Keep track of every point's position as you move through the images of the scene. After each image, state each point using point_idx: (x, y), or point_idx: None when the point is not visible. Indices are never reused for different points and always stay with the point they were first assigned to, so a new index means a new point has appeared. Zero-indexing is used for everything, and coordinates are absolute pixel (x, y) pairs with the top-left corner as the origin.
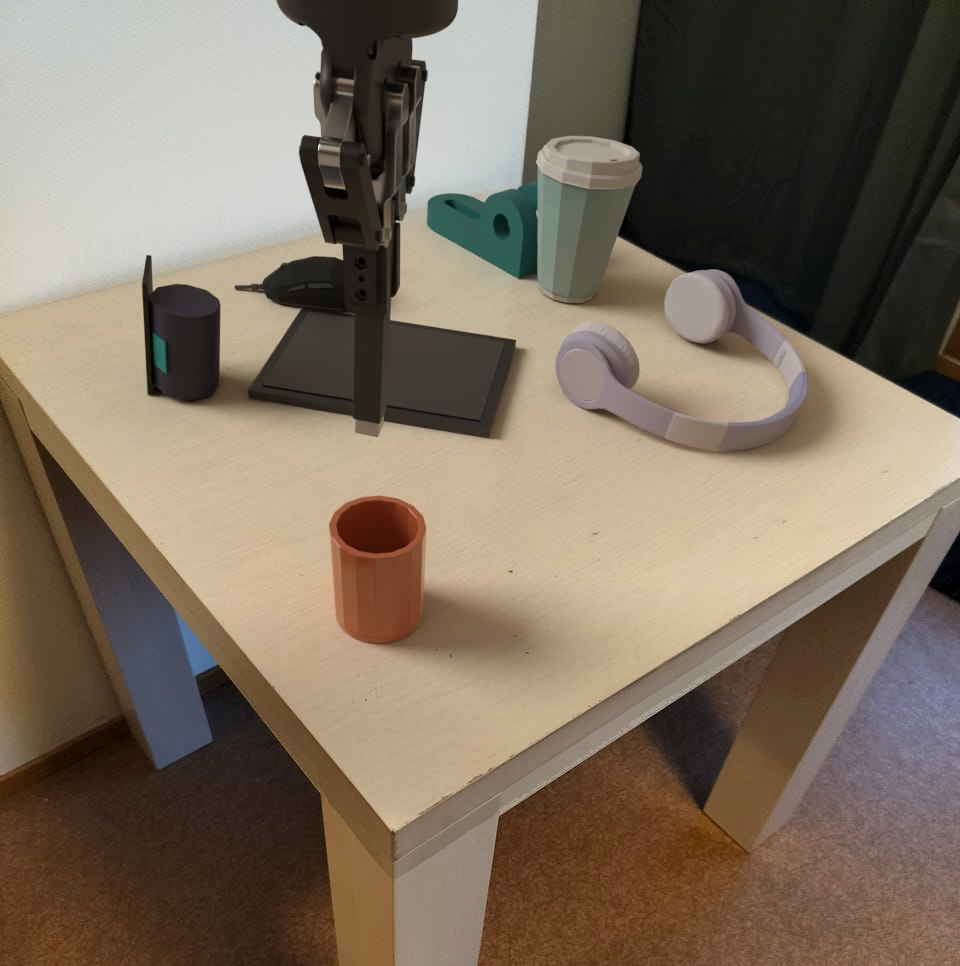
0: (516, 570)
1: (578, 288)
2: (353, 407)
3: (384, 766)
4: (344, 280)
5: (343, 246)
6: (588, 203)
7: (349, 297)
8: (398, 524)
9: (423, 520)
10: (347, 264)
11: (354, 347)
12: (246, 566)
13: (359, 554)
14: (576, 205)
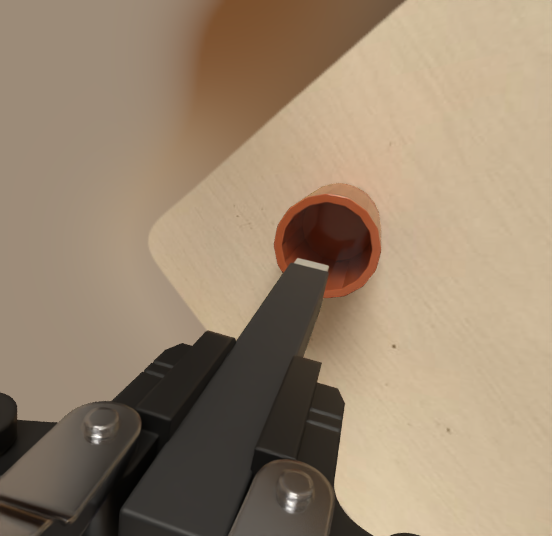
0: (395, 351)
1: None
2: (286, 268)
3: (178, 231)
4: (182, 356)
5: (145, 400)
6: None
7: (163, 354)
8: (365, 263)
9: (336, 296)
10: (125, 391)
11: (259, 307)
12: (405, 80)
13: (279, 229)
14: None
